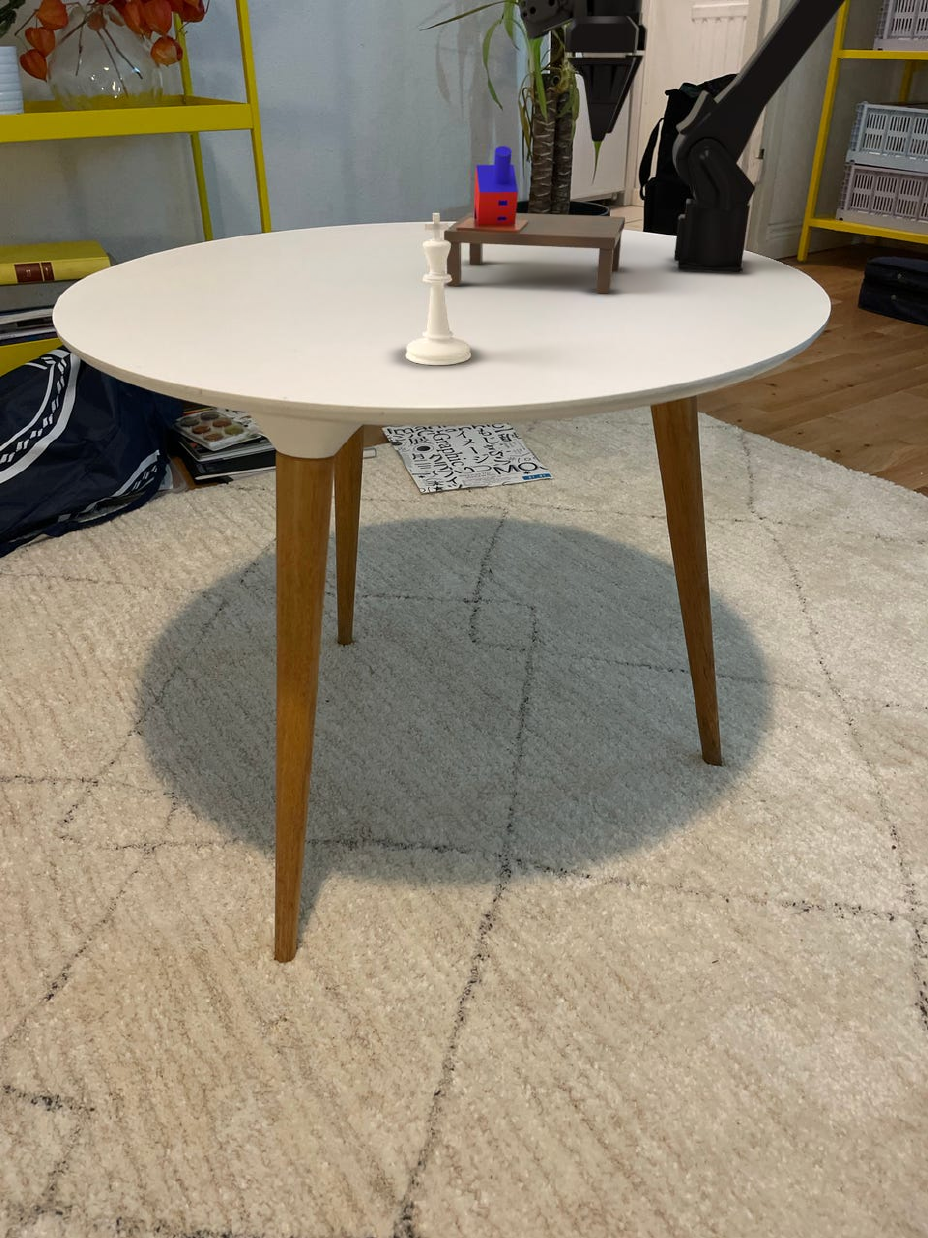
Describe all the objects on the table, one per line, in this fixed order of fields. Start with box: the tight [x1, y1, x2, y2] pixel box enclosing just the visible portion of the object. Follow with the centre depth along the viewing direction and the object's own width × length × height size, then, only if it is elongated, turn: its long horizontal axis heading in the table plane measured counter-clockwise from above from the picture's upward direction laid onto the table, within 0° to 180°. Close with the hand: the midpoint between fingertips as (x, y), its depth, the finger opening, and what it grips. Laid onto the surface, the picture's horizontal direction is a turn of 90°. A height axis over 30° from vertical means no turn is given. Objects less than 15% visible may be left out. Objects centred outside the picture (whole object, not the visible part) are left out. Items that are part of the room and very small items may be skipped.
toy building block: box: [473, 145, 519, 225], centre depth 91 cm, size 4×4×8 cm
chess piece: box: [405, 212, 472, 366], centre depth 70 cm, size 5×5×10 cm
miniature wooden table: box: [443, 211, 626, 295], centre depth 95 cm, size 16×12×5 cm
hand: (602, 136), depth 96 cm, fingers open, 9 cm apart
